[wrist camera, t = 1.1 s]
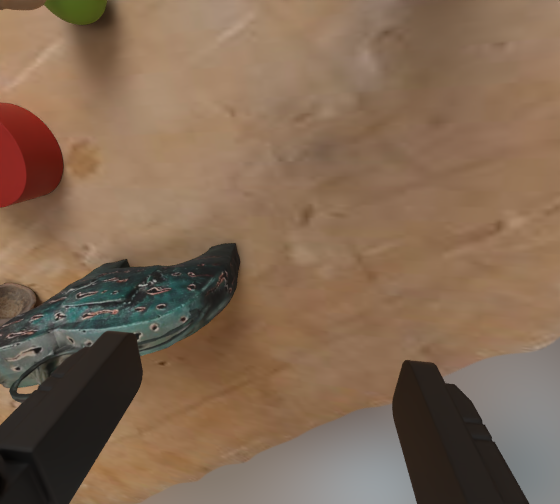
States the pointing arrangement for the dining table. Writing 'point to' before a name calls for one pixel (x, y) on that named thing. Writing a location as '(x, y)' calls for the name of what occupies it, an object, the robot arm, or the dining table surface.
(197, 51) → the dining table surface
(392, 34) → the dining table surface
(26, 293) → the pipe
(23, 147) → the cheese
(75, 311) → the ceramic cat
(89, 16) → the snail figurine
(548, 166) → the dining table surface
